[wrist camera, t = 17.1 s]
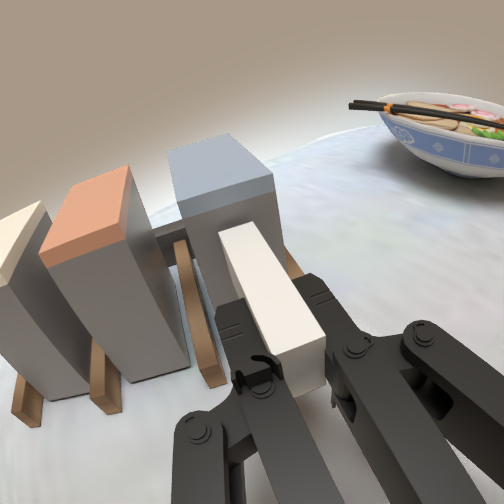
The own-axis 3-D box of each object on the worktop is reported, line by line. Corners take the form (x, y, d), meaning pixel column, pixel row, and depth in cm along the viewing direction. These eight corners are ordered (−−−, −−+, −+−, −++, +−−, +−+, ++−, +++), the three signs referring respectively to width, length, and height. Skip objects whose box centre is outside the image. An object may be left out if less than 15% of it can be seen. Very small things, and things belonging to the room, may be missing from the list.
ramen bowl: (531, 157, 33) (537, 107, 28) (566, 239, 19) (587, 160, 14) (388, 129, 46) (386, 81, 41) (342, 187, 32) (337, 110, 27)
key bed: (335, 342, 17) (336, 307, 16) (30, 427, 15) (0, 404, 13) (260, 226, 29) (254, 196, 27) (53, 295, 26) (38, 271, 24)
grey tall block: (95, 391, 17) (-2, 270, 11) (48, 400, 16) (-48, 293, 11) (100, 307, 23) (41, 200, 17) (60, 320, 23) (-1, 221, 17)
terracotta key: (190, 365, 18) (118, 222, 12) (129, 382, 17) (38, 253, 11) (174, 283, 24) (128, 164, 18) (127, 298, 24) (72, 186, 18)
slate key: (295, 329, 19) (272, 173, 13) (231, 352, 18) (177, 202, 12) (255, 256, 25) (228, 133, 19) (205, 272, 24) (166, 151, 19)
